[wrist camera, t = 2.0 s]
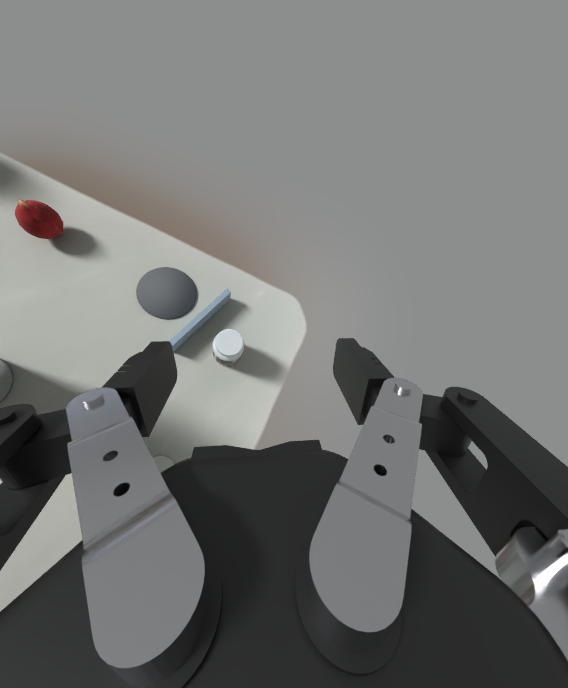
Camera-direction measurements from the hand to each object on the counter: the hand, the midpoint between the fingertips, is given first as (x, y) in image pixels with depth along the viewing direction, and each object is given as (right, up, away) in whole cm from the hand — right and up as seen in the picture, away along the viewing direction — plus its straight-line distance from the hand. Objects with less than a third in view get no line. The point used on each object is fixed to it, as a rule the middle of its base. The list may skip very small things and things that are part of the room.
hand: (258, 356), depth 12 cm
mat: (-23, +11, +37) cm, 45 cm away
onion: (-43, +21, +34) cm, 59 cm away
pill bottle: (-11, -1, +38) cm, 40 cm away
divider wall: (-16, +5, +38) cm, 41 cm away
